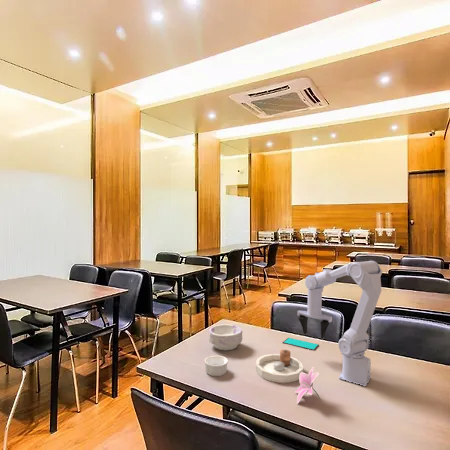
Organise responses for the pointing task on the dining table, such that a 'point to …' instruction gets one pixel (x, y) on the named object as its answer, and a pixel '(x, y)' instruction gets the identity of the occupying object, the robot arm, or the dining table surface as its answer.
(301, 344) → the smartphone
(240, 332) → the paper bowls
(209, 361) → the ramekin
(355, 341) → the robot arm
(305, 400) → the dining table surface
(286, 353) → the pepper mill
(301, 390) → the lily
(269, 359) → the ring tray
